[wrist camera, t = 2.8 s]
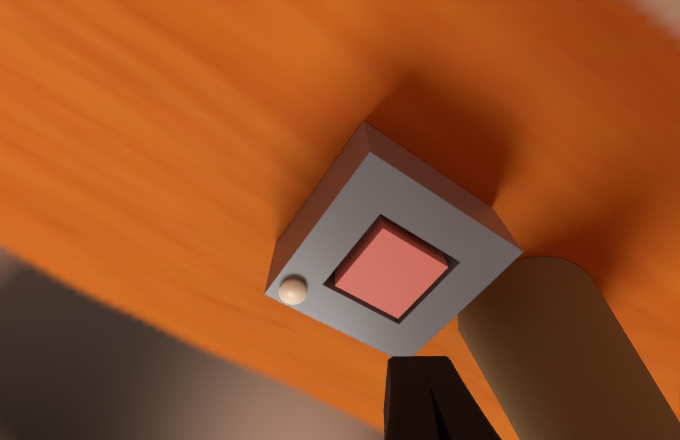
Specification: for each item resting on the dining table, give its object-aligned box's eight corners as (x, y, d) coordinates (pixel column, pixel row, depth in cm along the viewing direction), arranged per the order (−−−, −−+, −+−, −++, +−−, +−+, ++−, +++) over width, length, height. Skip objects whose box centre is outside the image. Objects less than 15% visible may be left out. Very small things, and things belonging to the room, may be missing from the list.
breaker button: (435, 234, 15) (448, 267, 13) (391, 282, 16) (398, 318, 14) (376, 198, 14) (382, 228, 12) (334, 251, 15) (335, 285, 14)
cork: (450, 361, 20) (557, 711, 10) (466, 257, 17) (638, 613, 7) (576, 358, 20) (800, 706, 10) (615, 254, 17) (981, 606, 7)
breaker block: (492, 207, 16) (526, 255, 13) (395, 308, 18) (406, 368, 15) (363, 120, 14) (370, 154, 11) (275, 245, 16) (263, 298, 14)
